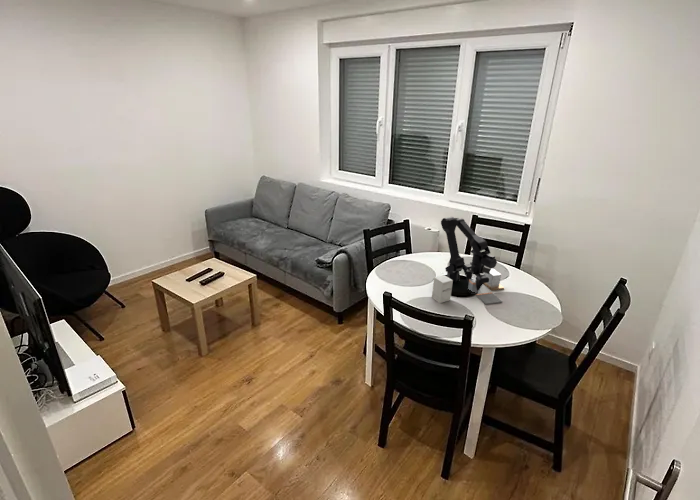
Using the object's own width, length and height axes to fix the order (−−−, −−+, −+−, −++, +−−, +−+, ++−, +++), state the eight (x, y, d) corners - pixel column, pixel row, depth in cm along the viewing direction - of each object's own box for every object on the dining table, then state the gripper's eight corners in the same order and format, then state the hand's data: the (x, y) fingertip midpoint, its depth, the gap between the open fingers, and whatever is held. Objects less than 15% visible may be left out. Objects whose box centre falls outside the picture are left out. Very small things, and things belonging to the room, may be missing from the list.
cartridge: (471, 293, 217) (473, 282, 214) (467, 290, 220) (469, 279, 218) (477, 292, 218) (479, 281, 215) (474, 289, 221) (475, 278, 219)
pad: (485, 304, 205) (486, 303, 205) (475, 295, 214) (476, 294, 214) (502, 302, 208) (502, 301, 207) (491, 293, 217) (491, 292, 216)
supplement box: (440, 303, 206) (442, 282, 201) (431, 297, 212) (433, 277, 207) (450, 300, 209) (453, 280, 204) (441, 294, 215) (444, 274, 210)
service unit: (491, 290, 220) (494, 276, 216) (480, 281, 230) (482, 267, 227) (503, 289, 222) (506, 275, 218) (491, 280, 232) (494, 266, 229)
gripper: (500, 267, 205) (495, 293, 211) (481, 254, 222) (477, 277, 228) (481, 269, 203) (477, 295, 209) (463, 255, 219) (460, 279, 226)
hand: (473, 286), depth 218 cm, fingers open, 9 cm apart
